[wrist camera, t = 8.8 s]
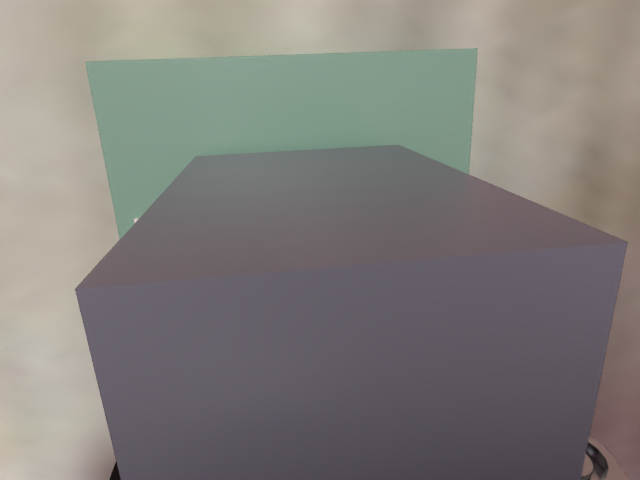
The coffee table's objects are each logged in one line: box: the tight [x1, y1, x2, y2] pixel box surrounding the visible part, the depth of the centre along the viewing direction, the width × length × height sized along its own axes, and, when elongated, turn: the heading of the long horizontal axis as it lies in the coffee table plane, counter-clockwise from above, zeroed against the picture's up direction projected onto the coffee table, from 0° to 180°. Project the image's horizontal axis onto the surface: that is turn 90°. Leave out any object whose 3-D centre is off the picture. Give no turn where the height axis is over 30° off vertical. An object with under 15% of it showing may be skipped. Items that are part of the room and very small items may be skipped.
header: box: [85, 48, 478, 239], centre depth 10 cm, size 14×8×6 cm, turn 2°
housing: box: [75, 145, 628, 480], centre depth 8 cm, size 10×4×6 cm, turn 2°
